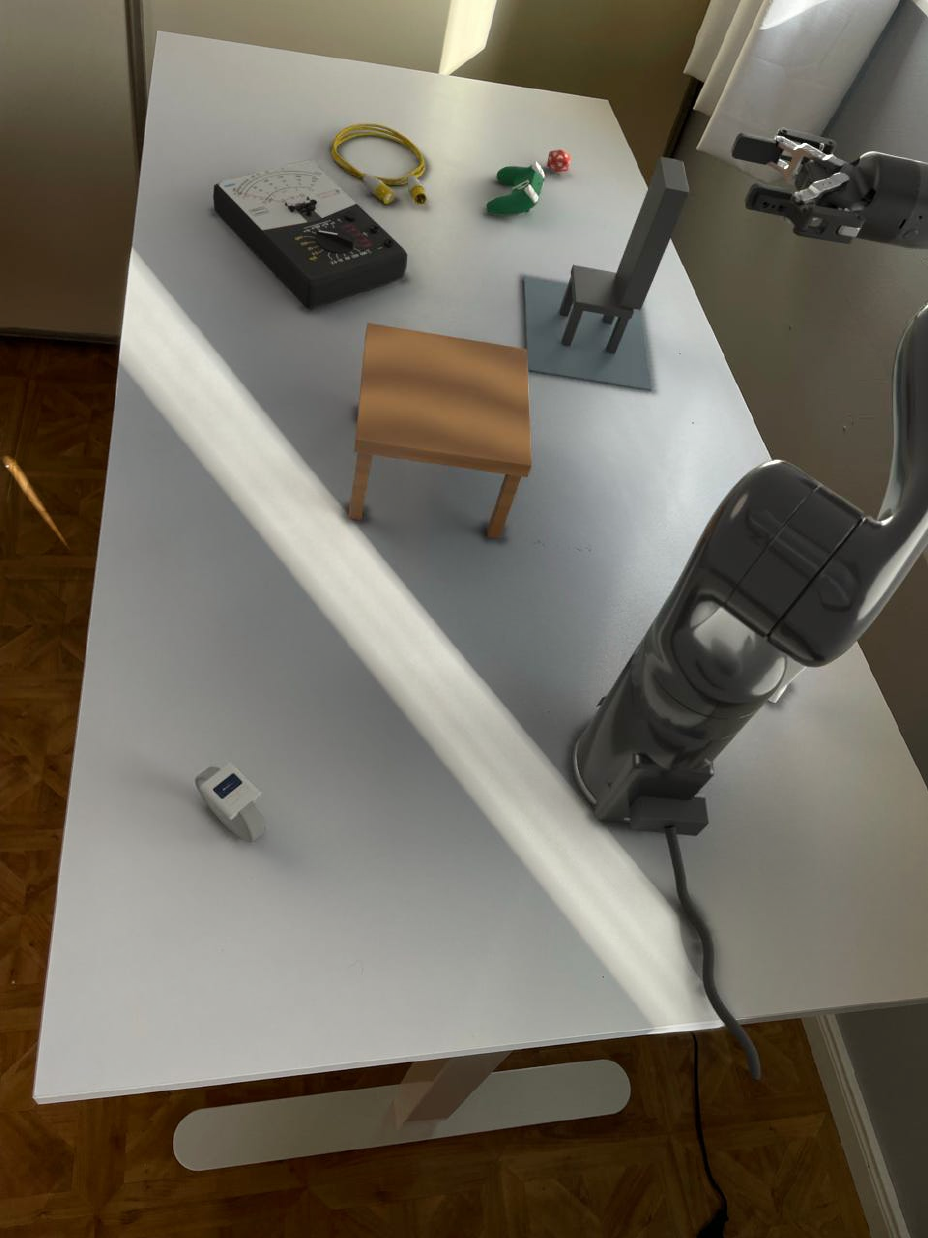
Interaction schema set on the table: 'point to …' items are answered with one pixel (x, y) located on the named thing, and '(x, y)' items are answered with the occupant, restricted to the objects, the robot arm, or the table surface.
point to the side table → (443, 409)
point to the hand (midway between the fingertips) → (741, 169)
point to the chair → (630, 259)
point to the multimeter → (309, 232)
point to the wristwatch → (232, 800)
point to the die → (558, 160)
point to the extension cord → (375, 183)
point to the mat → (581, 341)
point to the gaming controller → (518, 190)
